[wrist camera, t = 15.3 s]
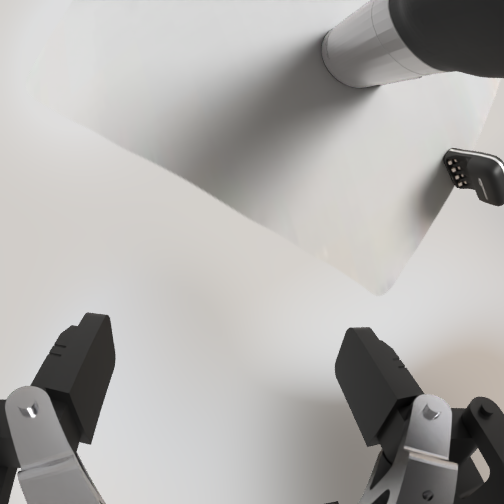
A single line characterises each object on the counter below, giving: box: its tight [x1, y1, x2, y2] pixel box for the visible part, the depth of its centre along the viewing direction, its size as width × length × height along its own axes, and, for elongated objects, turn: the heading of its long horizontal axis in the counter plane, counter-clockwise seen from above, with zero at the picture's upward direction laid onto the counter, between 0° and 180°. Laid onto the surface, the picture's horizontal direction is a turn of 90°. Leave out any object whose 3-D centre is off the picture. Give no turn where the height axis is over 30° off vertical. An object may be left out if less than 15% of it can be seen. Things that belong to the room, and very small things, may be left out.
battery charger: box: [444, 148, 504, 206], centre depth 35 cm, size 7×4×11 cm, turn 42°
